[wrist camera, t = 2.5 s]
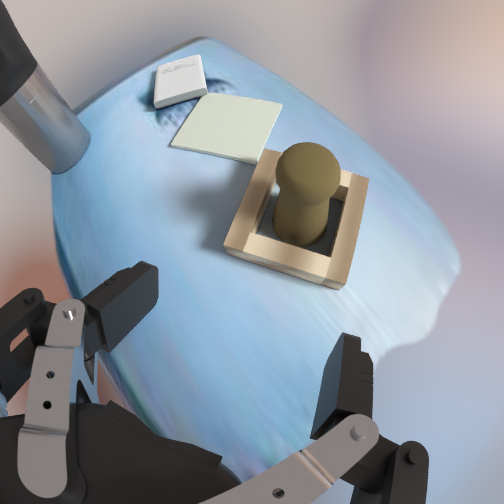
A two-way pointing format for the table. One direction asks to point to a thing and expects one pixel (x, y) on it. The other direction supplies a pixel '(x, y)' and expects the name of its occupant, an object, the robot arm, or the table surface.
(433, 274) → the table surface
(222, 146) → the mat
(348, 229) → the holder
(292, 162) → the cork
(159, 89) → the external hard drive
